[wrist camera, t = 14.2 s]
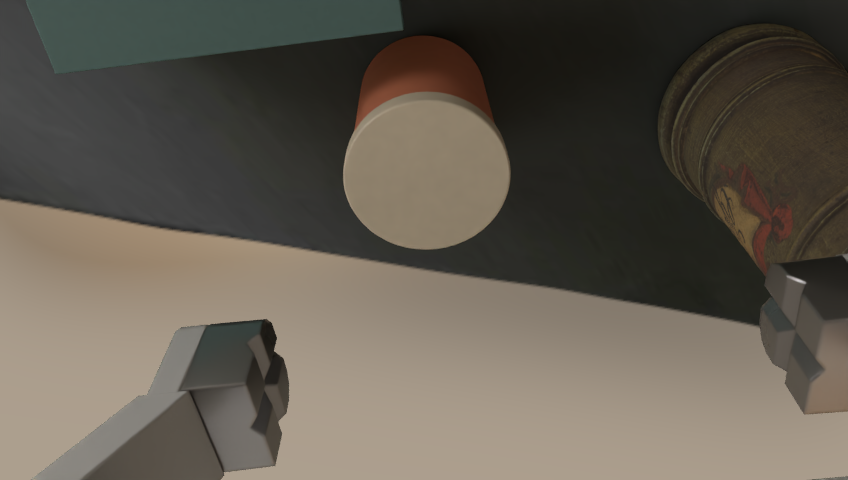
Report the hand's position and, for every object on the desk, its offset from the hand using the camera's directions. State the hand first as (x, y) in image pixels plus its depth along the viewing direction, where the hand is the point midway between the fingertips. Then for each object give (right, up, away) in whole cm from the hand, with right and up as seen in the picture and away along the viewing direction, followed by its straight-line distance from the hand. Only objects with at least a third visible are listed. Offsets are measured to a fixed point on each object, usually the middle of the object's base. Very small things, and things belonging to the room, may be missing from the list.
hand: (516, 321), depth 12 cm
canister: (-2, +9, +24) cm, 25 cm away
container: (+15, +8, +25) cm, 30 cm away
